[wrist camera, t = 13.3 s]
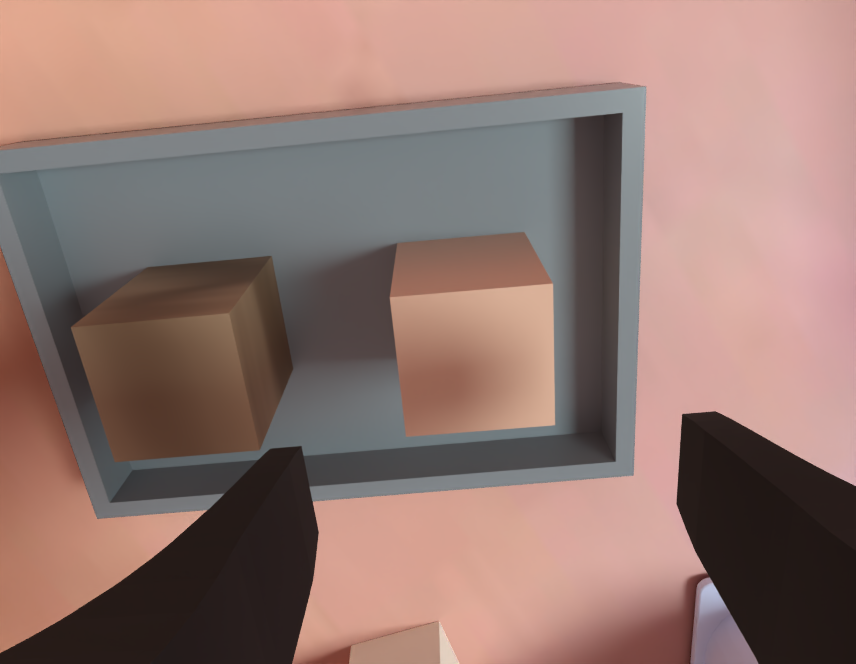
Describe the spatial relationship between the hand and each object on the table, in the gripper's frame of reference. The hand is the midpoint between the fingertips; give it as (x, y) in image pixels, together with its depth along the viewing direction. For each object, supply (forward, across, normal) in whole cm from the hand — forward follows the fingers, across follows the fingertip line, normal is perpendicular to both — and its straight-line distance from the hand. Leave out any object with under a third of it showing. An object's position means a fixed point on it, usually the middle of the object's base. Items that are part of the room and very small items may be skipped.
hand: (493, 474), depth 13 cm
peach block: (+10, 0, 0) cm, 10 cm away
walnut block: (+10, +8, 0) cm, 13 cm away
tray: (+10, +4, 0) cm, 11 cm away
